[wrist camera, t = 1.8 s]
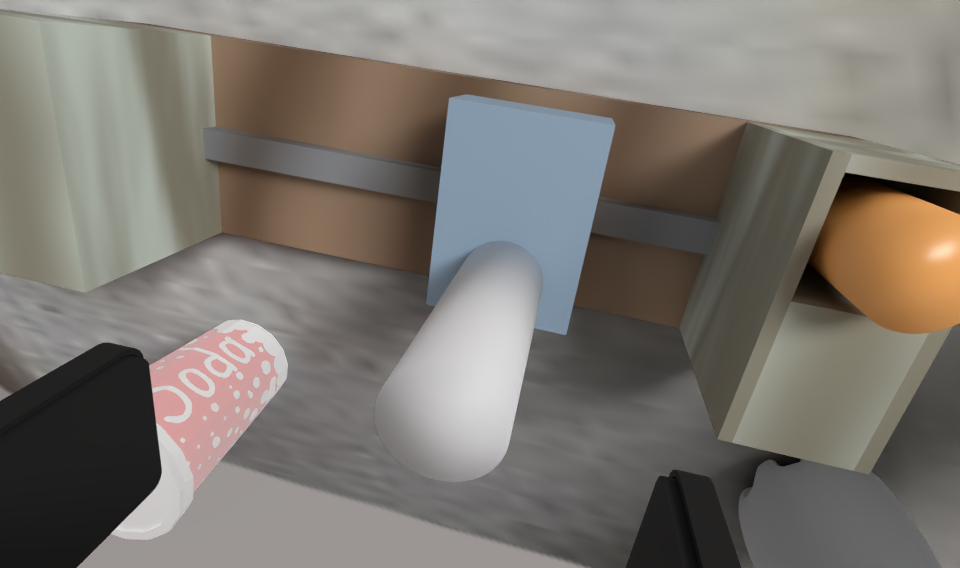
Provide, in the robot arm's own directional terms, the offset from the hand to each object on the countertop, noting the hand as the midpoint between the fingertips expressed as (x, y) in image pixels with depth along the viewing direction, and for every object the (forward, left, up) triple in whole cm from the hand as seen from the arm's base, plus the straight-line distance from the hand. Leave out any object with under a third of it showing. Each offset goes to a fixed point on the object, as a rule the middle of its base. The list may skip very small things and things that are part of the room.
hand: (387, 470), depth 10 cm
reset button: (-10, -4, -9) cm, 14 cm away
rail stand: (+2, -2, -15) cm, 15 cm away
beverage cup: (+12, +9, -15) cm, 21 cm away
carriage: (-1, -2, -12) cm, 12 cm away
